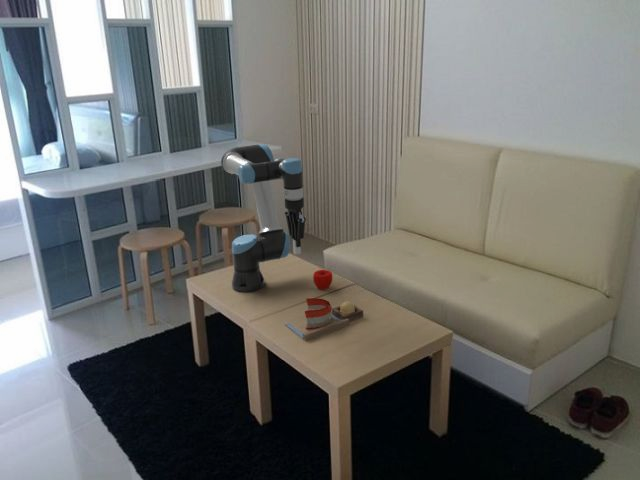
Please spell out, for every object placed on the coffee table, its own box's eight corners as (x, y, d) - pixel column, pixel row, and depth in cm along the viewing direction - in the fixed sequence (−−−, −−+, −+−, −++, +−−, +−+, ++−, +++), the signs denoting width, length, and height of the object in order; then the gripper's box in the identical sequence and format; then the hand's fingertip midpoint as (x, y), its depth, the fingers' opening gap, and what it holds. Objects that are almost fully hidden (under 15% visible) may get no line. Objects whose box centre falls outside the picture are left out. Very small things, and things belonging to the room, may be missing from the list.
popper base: (332, 315, 235) (332, 308, 234) (350, 309, 239) (350, 302, 238) (344, 323, 227) (344, 316, 226) (363, 317, 232) (363, 310, 231)
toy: (332, 330, 223) (331, 311, 220) (305, 330, 224) (304, 312, 221) (332, 315, 235) (331, 297, 232) (307, 315, 235) (306, 298, 233)
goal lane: (285, 325, 228) (284, 319, 228) (327, 310, 239) (327, 305, 238) (305, 340, 216) (304, 335, 215) (349, 325, 226) (349, 319, 225)
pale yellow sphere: (337, 314, 234) (336, 301, 232) (349, 310, 237) (348, 297, 235) (345, 320, 229) (345, 306, 227) (357, 315, 232) (357, 302, 230)
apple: (336, 288, 258) (336, 272, 256) (320, 293, 254) (319, 277, 251) (326, 282, 266) (325, 266, 263) (310, 287, 261) (309, 271, 259)
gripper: (277, 196, 230) (281, 251, 238) (294, 203, 219) (297, 260, 228) (293, 193, 234) (297, 246, 242) (310, 199, 223) (313, 255, 231)
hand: (297, 253), depth 235 cm, fingers closed
